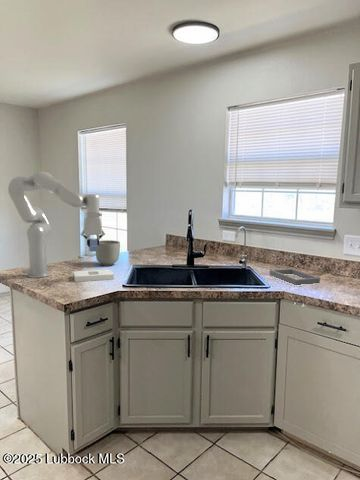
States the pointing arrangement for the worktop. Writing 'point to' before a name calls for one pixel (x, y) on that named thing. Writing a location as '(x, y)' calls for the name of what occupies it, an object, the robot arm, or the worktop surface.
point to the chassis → (93, 275)
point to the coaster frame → (308, 278)
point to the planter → (108, 252)
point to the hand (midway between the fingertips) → (93, 246)
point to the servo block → (93, 245)
